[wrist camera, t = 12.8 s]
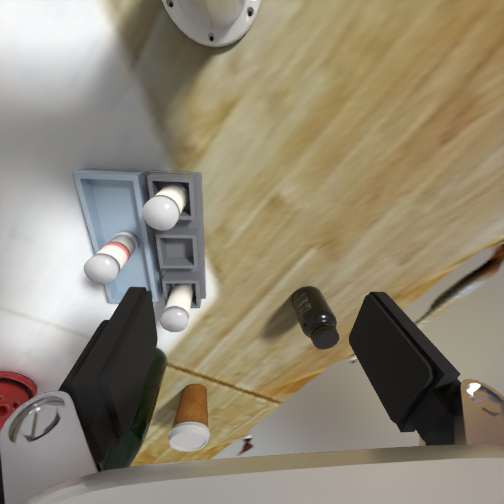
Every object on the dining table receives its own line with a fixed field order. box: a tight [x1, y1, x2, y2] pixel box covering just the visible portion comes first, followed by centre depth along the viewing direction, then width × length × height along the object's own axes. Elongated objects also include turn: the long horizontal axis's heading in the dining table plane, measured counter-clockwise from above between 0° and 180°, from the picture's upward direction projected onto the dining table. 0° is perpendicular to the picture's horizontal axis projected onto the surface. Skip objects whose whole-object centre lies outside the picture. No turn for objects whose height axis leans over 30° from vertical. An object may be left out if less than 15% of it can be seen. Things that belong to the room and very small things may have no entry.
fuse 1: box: [143, 182, 189, 230], centre depth 34 cm, size 4×4×10 cm
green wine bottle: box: [100, 348, 167, 471], centre depth 43 cm, size 10×10×33 cm
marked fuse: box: [84, 230, 139, 284], centre depth 38 cm, size 4×4×10 cm
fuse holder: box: [147, 170, 206, 308], centre depth 42 cm, size 25×8×4 cm, turn 177°
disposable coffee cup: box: [168, 384, 210, 452], centre depth 60 cm, size 10×10×12 cm
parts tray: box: [72, 169, 162, 303], centre depth 41 cm, size 24×9×3 cm, turn 177°
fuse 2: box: [160, 283, 195, 332], centre depth 42 cm, size 4×4×10 cm
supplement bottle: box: [292, 286, 339, 349], centre depth 47 cm, size 7×7×12 cm
